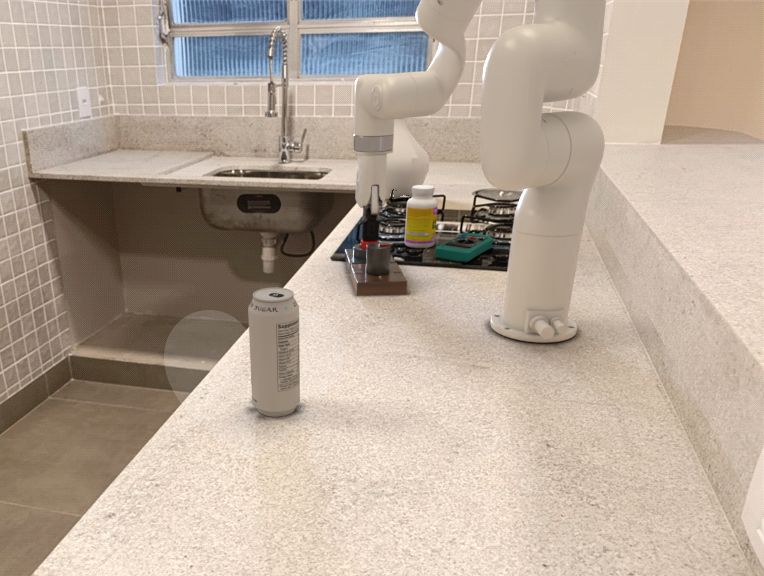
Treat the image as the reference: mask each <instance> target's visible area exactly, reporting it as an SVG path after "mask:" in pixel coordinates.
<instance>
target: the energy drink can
mask: <svg viewBox="0 0 764 576" xmlns="http://www.w3.org/2000/svg"><path fill="white" fill-rule="evenodd" d="M294 296H295V293H294V291H293V290H292V289H289V288H285V287H278V286H277V287H273V286H272V287H264V288H260V289H257V290H255V291H254V292H253V293H252V299H251V302H250V304H249V305H248V307H247V309H248V310H247V312H248V313H247V316H248V336H249V337H248V339H249V361H250V362H249V363H250V383H251V386H250V387H251V403H252V405H253V406H254V407H255V408H256V410H257V412H258V413H260V414H262V415H264V416H267V417H273V418H275V417H277V418H278V417H279V418H280V417H284V416H288V415H291V414H292V413H293V412H295V410H296V408H297V406H299V404H300V403H301V368H300V364H301V358H300V357H301V355H300V354H301V353H300V350H301V349H300V306H299V304H298V301H297V300H296V299H295V297H294Z"/></svg>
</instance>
